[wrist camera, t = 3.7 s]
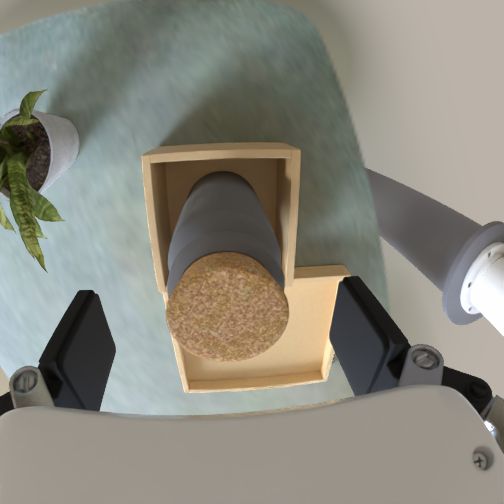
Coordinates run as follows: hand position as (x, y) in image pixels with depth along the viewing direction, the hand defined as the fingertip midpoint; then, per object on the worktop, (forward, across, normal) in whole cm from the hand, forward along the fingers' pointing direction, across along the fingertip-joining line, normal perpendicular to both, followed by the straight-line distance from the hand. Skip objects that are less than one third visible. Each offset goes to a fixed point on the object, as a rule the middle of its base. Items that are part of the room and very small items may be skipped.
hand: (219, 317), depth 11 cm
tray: (+15, -4, +14) cm, 21 cm away
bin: (+15, 0, 0) cm, 15 cm away
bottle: (+15, 0, 0) cm, 15 cm away
